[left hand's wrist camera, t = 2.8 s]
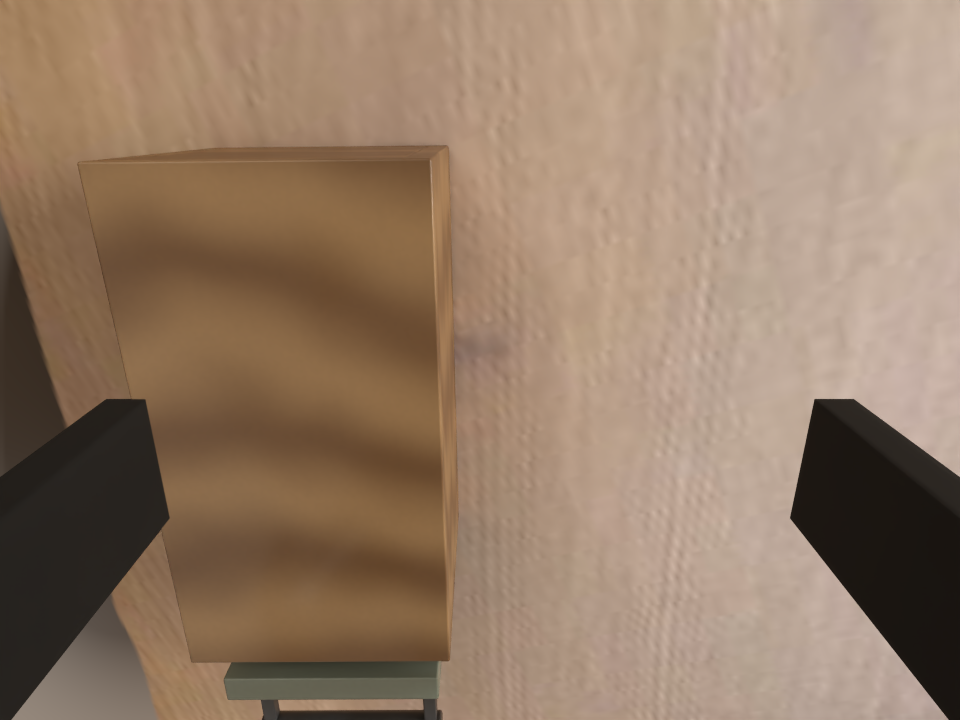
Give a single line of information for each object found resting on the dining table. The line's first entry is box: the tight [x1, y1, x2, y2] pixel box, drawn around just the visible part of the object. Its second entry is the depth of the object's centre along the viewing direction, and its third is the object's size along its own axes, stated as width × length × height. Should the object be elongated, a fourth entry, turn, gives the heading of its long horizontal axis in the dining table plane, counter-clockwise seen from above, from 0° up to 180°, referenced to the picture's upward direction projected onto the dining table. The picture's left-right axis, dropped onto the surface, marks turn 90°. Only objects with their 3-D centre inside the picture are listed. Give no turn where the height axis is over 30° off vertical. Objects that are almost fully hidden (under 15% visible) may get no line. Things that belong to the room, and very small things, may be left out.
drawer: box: [224, 661, 443, 720], centre depth 28 cm, size 23×9×8 cm, turn 1°
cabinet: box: [78, 146, 458, 663], centre depth 26 cm, size 19×10×10 cm, turn 1°
